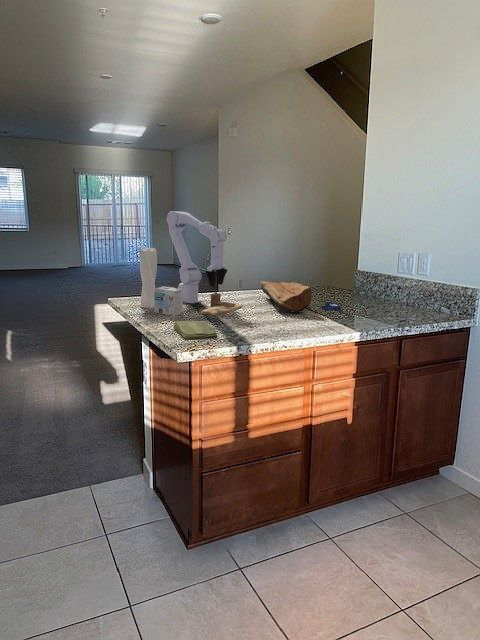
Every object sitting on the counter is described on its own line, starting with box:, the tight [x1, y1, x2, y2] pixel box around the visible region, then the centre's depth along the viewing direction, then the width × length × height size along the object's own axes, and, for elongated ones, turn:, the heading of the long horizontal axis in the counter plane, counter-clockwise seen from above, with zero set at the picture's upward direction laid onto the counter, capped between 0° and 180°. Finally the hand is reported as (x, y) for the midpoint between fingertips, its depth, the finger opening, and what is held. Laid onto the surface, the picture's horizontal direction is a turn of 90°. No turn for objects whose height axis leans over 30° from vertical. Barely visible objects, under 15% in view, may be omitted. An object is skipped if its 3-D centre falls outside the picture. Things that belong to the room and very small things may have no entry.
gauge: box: [210, 291, 236, 308], centre depth 217 cm, size 12×4×7 cm, turn 65°
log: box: [259, 280, 313, 313], centre depth 226 cm, size 42×18×15 cm, turn 7°
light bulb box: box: [153, 286, 184, 317], centre depth 200 cm, size 11×7×11 cm, turn 62°
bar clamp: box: [321, 301, 354, 319], centre depth 217 cm, size 32×2×10 cm
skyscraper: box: [139, 244, 158, 309], centre depth 210 cm, size 8×8×28 cm
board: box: [200, 303, 243, 317], centre depth 211 cm, size 9×23×1 cm, turn 155°
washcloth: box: [172, 320, 218, 340], centre depth 170 cm, size 13×18×3 cm
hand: (216, 285), depth 218 cm, fingers open, 7 cm apart
